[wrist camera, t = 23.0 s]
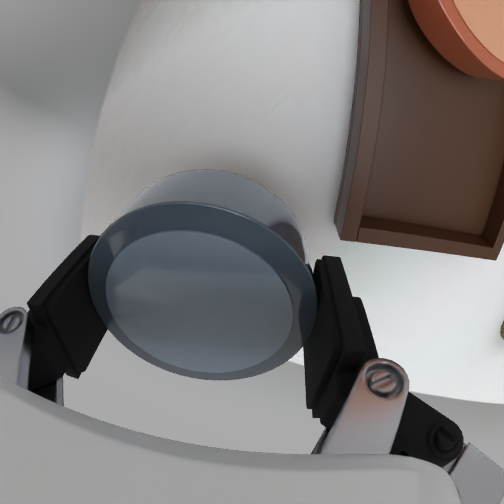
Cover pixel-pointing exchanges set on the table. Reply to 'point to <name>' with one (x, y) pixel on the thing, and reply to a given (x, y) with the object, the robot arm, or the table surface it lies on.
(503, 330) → the pepper shaker
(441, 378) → the table surface
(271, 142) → the table surface
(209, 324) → the slate dish
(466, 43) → the terracotta dish
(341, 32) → the table surface
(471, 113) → the tray
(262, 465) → the robot arm
